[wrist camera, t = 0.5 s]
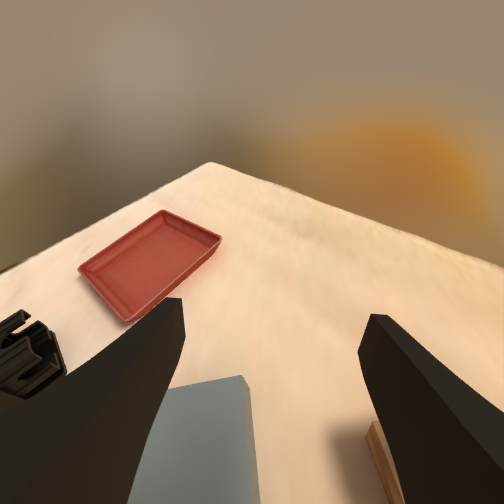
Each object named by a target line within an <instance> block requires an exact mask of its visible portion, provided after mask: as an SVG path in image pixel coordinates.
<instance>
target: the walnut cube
mask: <svg viewBox="0 0 504 504" xmlns="http://www.w3.org/2000/svg"><path fill="white" fill-rule="evenodd" d="M366 439H367V442H368V445H369V447H370V450H371V453H372V456H373V459H374V461H375V464H376V467H377V470H378V473H379V475H380V478H381V481H382V484H383V486H384V489H385V492H386V495H387V498H388V500H389V503H390V504H405V501H404V497H403V493H402V490H401V486H400V483H399V479H398V475H397V472H396V468H395V464H394V461H393V458H392V455H391V452H390V449H389V446H388V443H387V441H386V438H385V435H384V432H383V430H382V427H381V424H380V422H379V421H374V422H372V424H371V426H370V428H369V430H368V433H367V435H366Z"/></svg>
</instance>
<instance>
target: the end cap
mask: <svg viewBox="0 0 504 504" xmlns="http://www.w3.org/2000/svg"><path fill="white" fill-rule="evenodd" d="M30 317H31V315H30V314H28V313H27V312H26V311H24V310H22V309H21V310H19V311H17V312H16V313H14V314H13V315H11V316H9V317H8V318H6V319H5V320H3V321H2V322H0V415H2V414H3V413H5V412H7V411H9V410H10V409H12V408H14V407H16V406H17V405H19V404H21V403H22V402H24V401H26V400H27V399H29V398H31V397H32V396H34V395H36V394H37V393H39V392H41V391H42V390H44V389H46V388H47V387H49V386H51V385H52V384H54V383H56V382H57V381H59V380H60V379H62V378H63V377H65V376H66V374H67V369H66V366H65V363H64V360H63V357H62V354H61V351H60V348H59V345H58V342H57V339H56V336H55V333H54V332H52V331H49V329H48V327H47V326H46V325H45V324H43V323H42V322H40V321H39V320H38V321H36V322H34V323H33V324H31V325H30V326H28V327H27V328H25V329H24V330H22V331H21V332H19V333H15V334H14V333H11V332H13V331H14V330H16V329H17V328H19V327H20V326H22V325H23V324H25V323H26V322H25V320H27V319H28V318H30Z"/></svg>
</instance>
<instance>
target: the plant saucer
mask: <svg viewBox="0 0 504 504" xmlns="http://www.w3.org/2000/svg"><path fill="white" fill-rule="evenodd" d="M221 240H222V237H221V236H220V235H217V234H215V233H213V232H211V231H209V230H207V229H205V228H203V227H201V226H198V225H197V224H194V223H192V222H190V221H188V220H185V219H184V218H181V217H179V216H177V215H175V214H173V213H170V212H168V211H166V210H160V211H158V212H157V213H155V214H154V215H153V216H151V217H150V218H148V219H147V220H145V221H144V222H142V223H141V224H139V225H138V226H137V227H135V228H134V229H132V230H131V231H129V232H128V233H126V234H125V235H124V236H122V237H121V238H119V239H118V240H116V241H115V242H113V243H112V244H111V245H109V246H108V247H106V248H105V249H103V250H102V251H100V252H99V253H97V254H96V255H95V256H93V257H92V258H90V259H89V260H87V261H86V262H84V263H83V264H82V265H80V266H79V268H78V269H77V270H78V272H79V273H80V274H81V275H82V276H83V277H84V278H85V279H86V280H87V281H88V282H89V284H90V285H91V286H92V287H93V288H94V289H95V290H96V292H97V293H98V294H99V295H100V296H101V297H102V298H103V299H104V300H105V302H106V303H107V304H108V305H109V306H110V307H111V308H112V310H113V311H114V312H115V313H116V314H117V315H118V316H119V318H120V319H121V320H122V321H125V322H128V321H132V320H135V319H138V318H140V317H142V316H143V315H145V314H146V313H147V312H148V311H149V310H151V309H152V308H153V307H154V306H155V305H156V304H157V303H159V302H160V301H161V300H162V299H163V298H164V297H165V296H166V295H167V294H169V293H170V292H171V291H172V290H173V289H174V288H175V287H176V286H178V285H179V284H180V283H181V282H182V281H183V280H184V279H185V278H187V277H188V276H189V275H190V274H191V273H192V272H193V271H195V270H196V269H197V268H198V267H199V266H200V265H201V264H203V263H204V262H205V261H206V260H207V259H208V258H209V257H210V256H211V255H212V254H213V253H214V252H215V251H216V249H217V248H218V246H219V244H220V242H221Z"/></svg>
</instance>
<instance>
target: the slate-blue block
mask: <svg viewBox="0 0 504 504" xmlns="http://www.w3.org/2000/svg"><path fill="white" fill-rule="evenodd" d="M127 504H260V495H259V484H258V473H257V463H256V452H255V441H254V431H253V420H252V409H251V399H250V388H249V387H248V385H247V383H246V381H245V380H244V378H243V376H242V375H239V376H234V377H228V378H223V379H218V380H213V381H208V382H203V383H198V384H192V385H187V386H182V387H177V388H172V389H167V391H166V394H165V396H164V398H163V401H162V403H161V406H160V408H159V410H158V413H157V415H156V418H155V420H154V422H153V425H152V428H151V430H150V433H149V436H148V438H147V441H146V445H145V448H144V451H143V454H142V457H141V460H140V463H139V466H138V469H137V473H136V476H135V479H134V483H133V486H132V489H131V492H130V496H129V499H128V502H127Z"/></svg>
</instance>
